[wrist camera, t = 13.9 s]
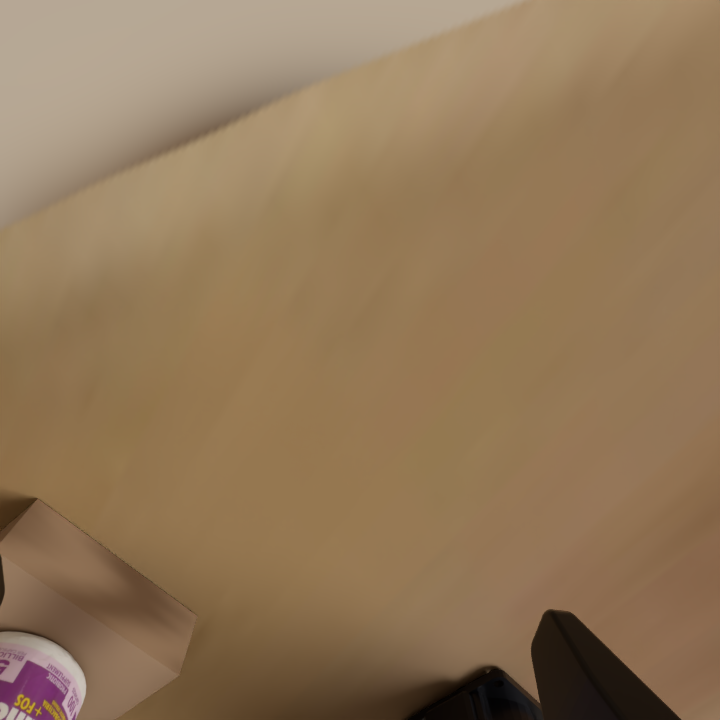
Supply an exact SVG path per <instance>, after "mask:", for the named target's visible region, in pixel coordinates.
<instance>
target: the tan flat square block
mask: <svg viewBox="0 0 720 720" xmlns="http://www.w3.org/2000/svg"><path fill="white" fill-rule="evenodd" d="M0 554H1V557H2V565H3V574H4V583H5V595H4V598H3V601H2V604H1V606H0V632H8V631H10V632H23V633H28V634H32V635H36V636H40V637H43V638H46V639H48V640H50V641H52V642H54V643H56V644H58V645H59V646H61V647H62V648H63V649H65V650H66V651H67V652H69V653H70V654H71V656H72V657H73V658H74V660H75V661H76V662H77V663H78V665H79V666H80V668H81V669H82V671H83V673H84V676H85V681H86V695H85V698H84V701H83V704H82V706H81V709H80V711H79V713H78V715H77V718H76V720H116V719H117V718H118V717H120V716H121V715H123V714H124V713H126V712H127V711H129V710H130V709H132V708H133V707H135V706H136V705H137V704H139V703H140V702H142V701H143V700H145V699H146V698H148V697H149V696H151V695H152V694H153V693H155V692H156V691H158V690H159V689H161V688H162V687H164V686H165V685H167V684H168V683H169V682H171V681H172V680H174V679H175V678H177V677H178V676H179V675H180V672H181V669H182V665H183V662H184V659H185V656H186V652H187V649H188V646H189V643H190V639H191V636H192V633H193V630H194V626H195V623H196V620H197V617H198V616H197V615H195V614H194V613H193V612H191V611H190V610H189V609H187V608H186V607H184V606H183V605H182V604H180V603H179V602H178V601H176V600H175V599H174V598H172V597H171V596H169V595H168V594H167V593H165V592H164V591H163V590H161V589H160V588H159V587H157V586H156V585H155V584H153V583H152V582H150V581H149V580H148V579H146V578H145V577H144V576H142V575H141V574H140V573H138V572H137V571H135V570H134V569H133V568H131V567H130V566H129V565H127V564H126V563H125V562H123V561H122V560H120V559H119V558H118V557H116V556H115V555H114V554H112V553H111V552H110V551H108V550H107V549H106V548H104V547H103V546H101V545H100V544H99V543H97V542H96V541H95V540H93V539H92V538H91V537H89V536H88V535H86V534H85V533H84V532H82V531H81V530H80V529H78V528H77V527H76V526H74V525H73V524H72V523H70V522H69V521H67V520H66V519H65V518H63V517H62V516H61V515H59V514H58V513H57V512H55V511H54V510H52V509H51V508H50V507H48V506H47V505H46V504H44V503H43V502H42V501H40V500H39V499H37V500H36V501H35V502H33V503H32V504H31V505H30V506H29V507H28V508H27V509H25V510H24V511H23V512H22V513H21V514H20V515H19V516H18V517H16V518H15V519H14V520H13V521H12V522H11V523H10V524H8V525H7V526H6V527H5V528H4V529H3V530H2V531H0Z"/></svg>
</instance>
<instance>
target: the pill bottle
mask: <svg viewBox="0 0 720 720" xmlns="http://www.w3.org/2000/svg"><path fill="white" fill-rule="evenodd" d="M85 695H86V681H85V676H84V673H83V671H82V669H81V668H80V666H79V665H78V663H77V662H76V661H75V660H74V658H73V657H72V656H71V654H70V653H69V652H67V651H66V650H65V649H63V648H62V647H61V646H59V645H58V644H56V643H54V642H52V641H50V640H48V639H46V638H43V637H40V636H36V635H32V634H28V633H23V632H10V631H8V632H0V720H76V718H77V715H78V713H79V711H80V709H81V706H82V704H83V701H84V698H85Z"/></svg>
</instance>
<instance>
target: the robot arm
mask: <svg viewBox="0 0 720 720" xmlns="http://www.w3.org/2000/svg"><path fill="white" fill-rule="evenodd" d="M4 595H5V583H4V574H3V565H2V557H1V554H0V606H1V604H2V601H3V598H4ZM531 657H532V662H533V668H534V673H535V678H536V683H537V689H538V694H539V699H540V704H539V703H538V702H537V701H536V700H535V699H534V698H533V697H532V696H531V695H530V694H528V693H527V692H526V691H525V690H524V689H523V688H522V687H521V686H520V685H519V684H517V683H516V682H515V681H514V680H513V679H512V678H511V677H510V676H509V675H508V674H507V673H505V672H504V671H502V670H493V671H491V672H489V673H487V674H485V675H484V676H482V677H480V678H478V679H477V680H475V681H473V682H471V683H470V684H468V685H466V686H464V687H463V688H461V689H459V690H458V691H456V692H454V693H452V694H451V695H449V696H447V697H445V698H444V699H442V700H440V701H438V702H437V703H435V704H433V705H431V706H430V707H428V708H426V709H424V710H423V711H421V712H419V713H418V714H416V715H414V716H412V717H411V718H409V719H407V720H681V719H680V718H679V717H678V716H677V715H676V714H675V713H674V712H673V711H672V710H671V709H670V708H669V707H668V706H667V705H666V704H665V703H664V702H663V701H662V700H661V699H660V698H659V697H658V696H657V695H656V694H655V693H654V692H653V691H652V690H651V689H650V688H649V687H648V686H647V685H645V684H644V683H643V682H642V681H641V680H640V679H639V678H638V677H637V676H636V675H635V674H634V673H633V672H632V671H631V670H630V669H629V668H628V667H627V666H626V665H625V664H624V663H623V662H622V661H621V660H620V659H619V658H618V657H617V656H616V655H615V654H614V653H613V652H612V651H611V650H610V649H609V648H608V647H607V646H606V645H605V644H604V643H603V642H602V641H600V640H599V639H598V638H597V637H596V636H595V635H594V634H593V633H592V632H591V631H590V630H589V629H588V628H587V627H586V626H585V625H584V624H583V623H582V622H581V621H580V620H579V619H578V618H577V617H576V616H575V615H574V614H572V613H571V612H568V611H562V610H552V609H549V610H547V611H546V612H544V614H543V616H542V619H541V621H540V624H539V626H538V629H537V631H536V633H535V636H534V638H533V641H532V646H531Z"/></svg>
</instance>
